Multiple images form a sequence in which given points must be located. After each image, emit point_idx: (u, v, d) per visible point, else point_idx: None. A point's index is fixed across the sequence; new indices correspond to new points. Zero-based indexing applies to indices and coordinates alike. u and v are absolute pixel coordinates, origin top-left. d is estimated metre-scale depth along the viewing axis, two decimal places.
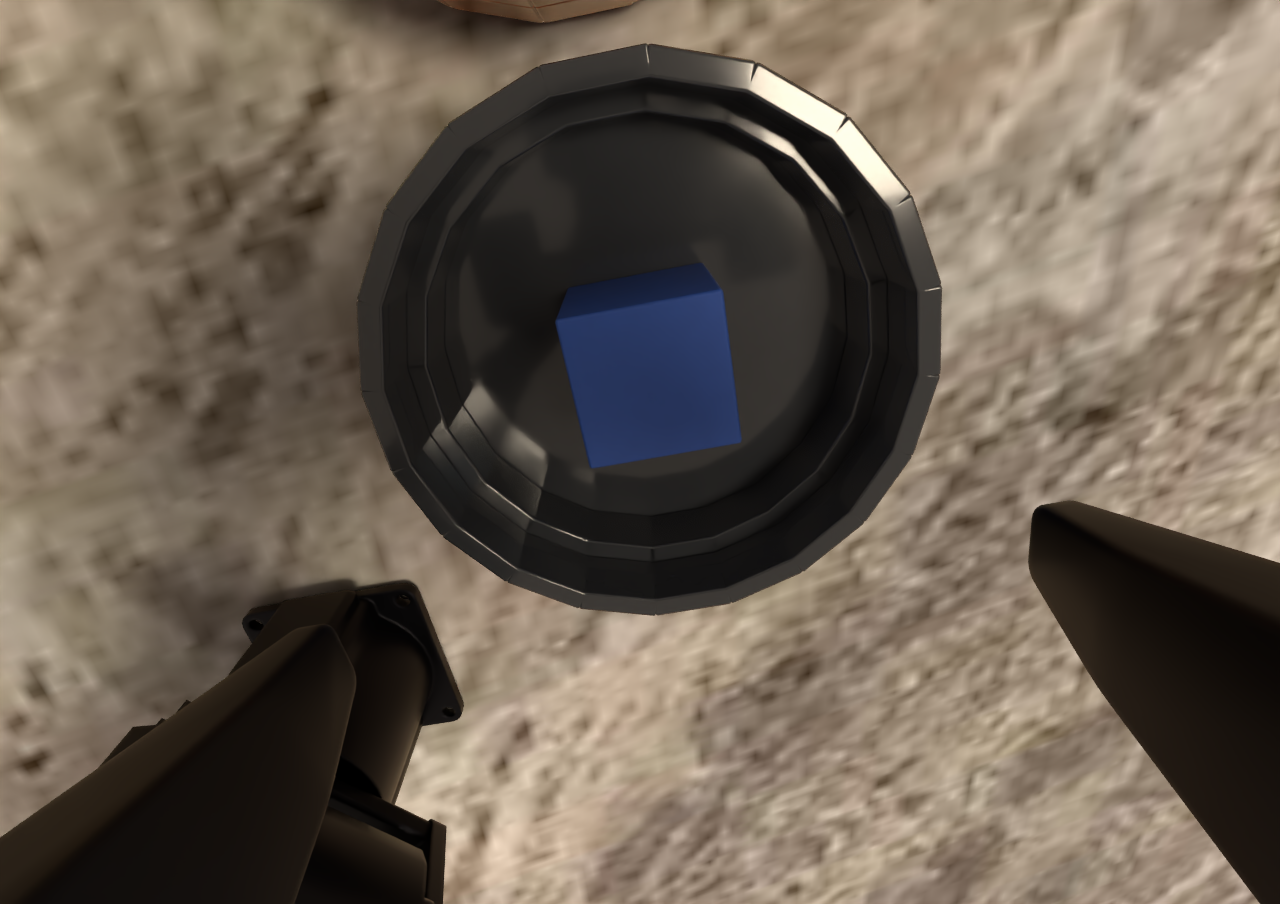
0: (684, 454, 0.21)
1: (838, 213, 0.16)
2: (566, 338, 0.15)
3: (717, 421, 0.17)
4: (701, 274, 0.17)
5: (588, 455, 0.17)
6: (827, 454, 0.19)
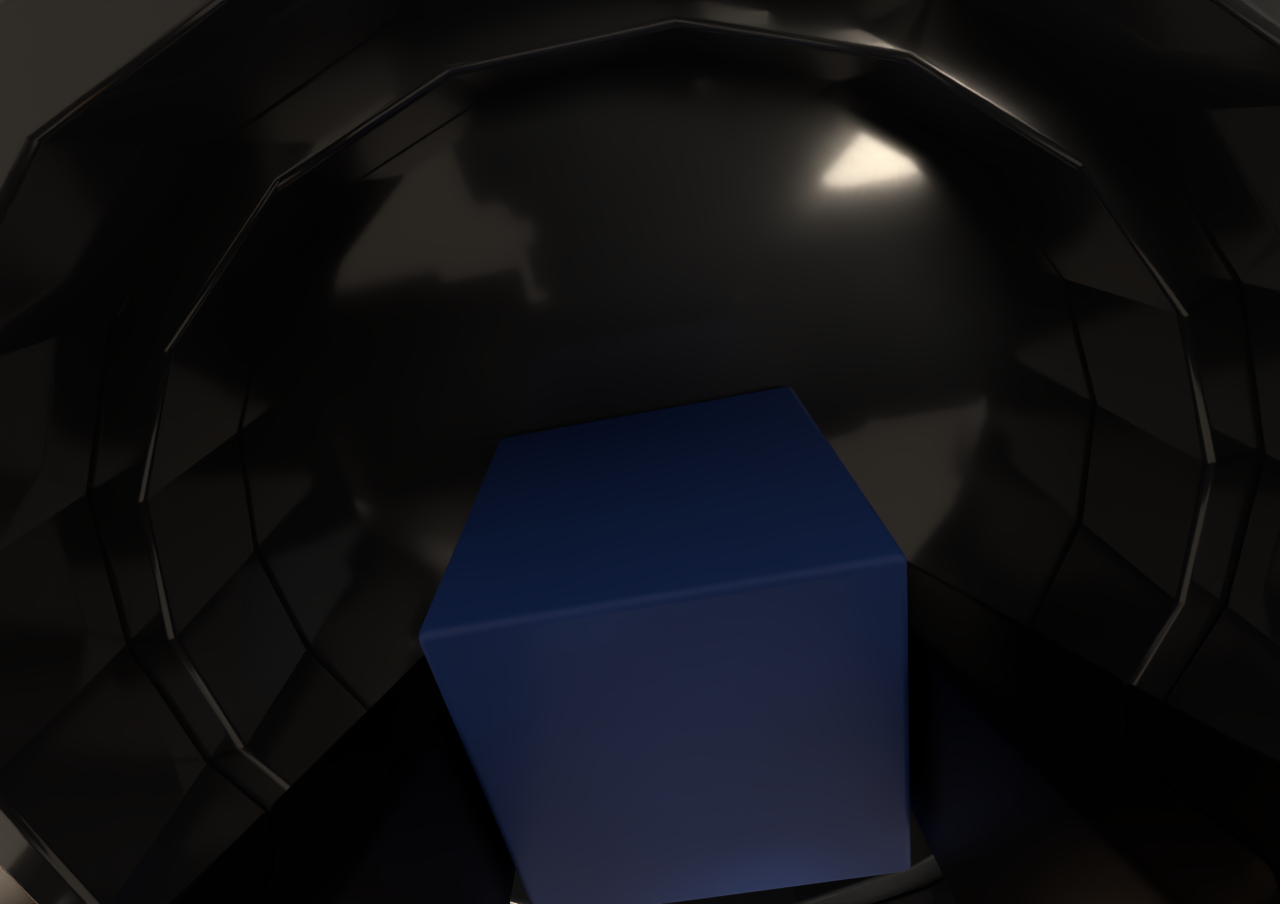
0: None
1: (1175, 302, 0.06)
2: (452, 677, 0.05)
3: (856, 836, 0.06)
4: (806, 444, 0.07)
5: (531, 899, 0.07)
6: None
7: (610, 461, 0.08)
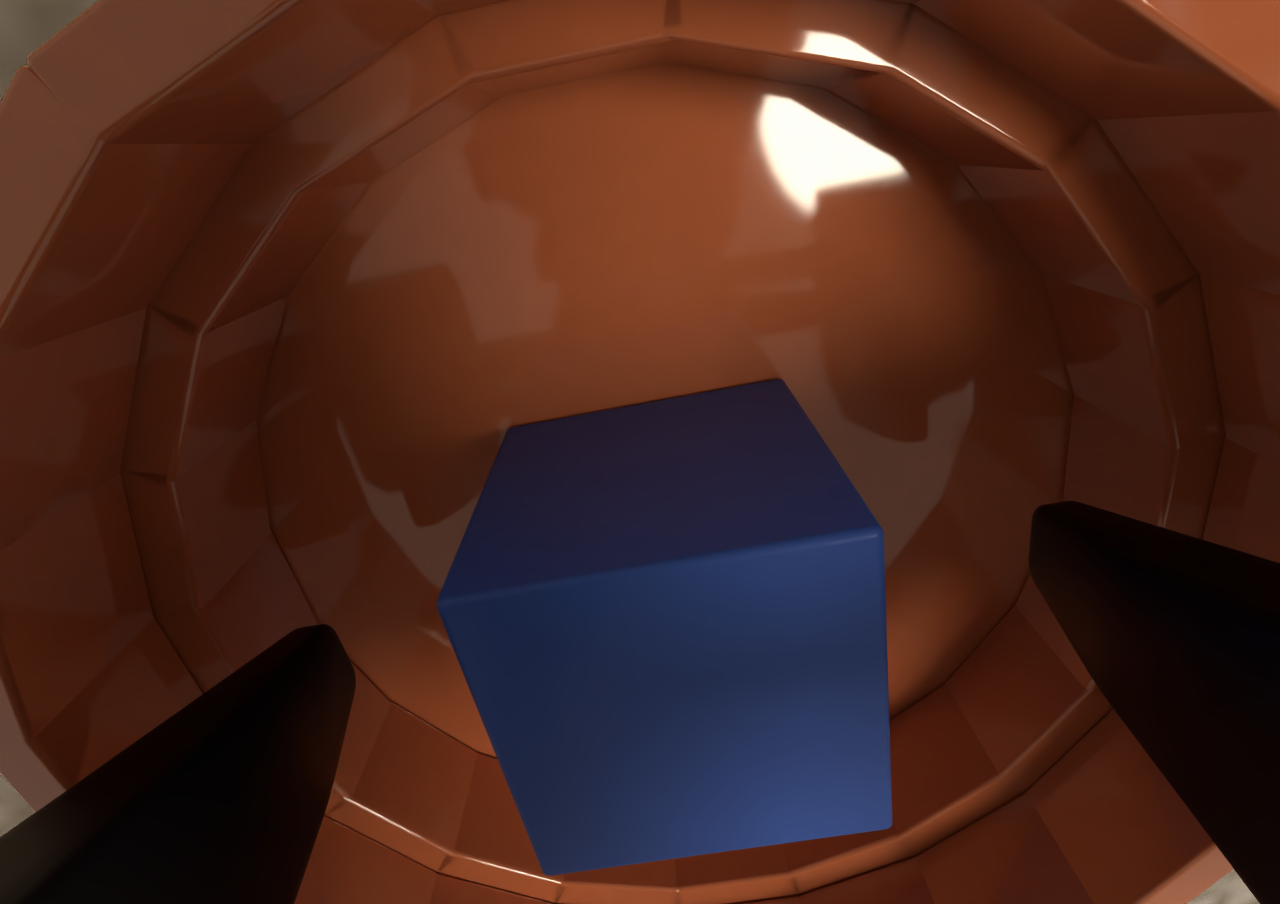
0: None
1: None
2: (467, 642, 0.06)
3: (841, 794, 0.07)
4: (795, 431, 0.08)
5: (537, 856, 0.07)
6: None
7: (611, 448, 0.08)
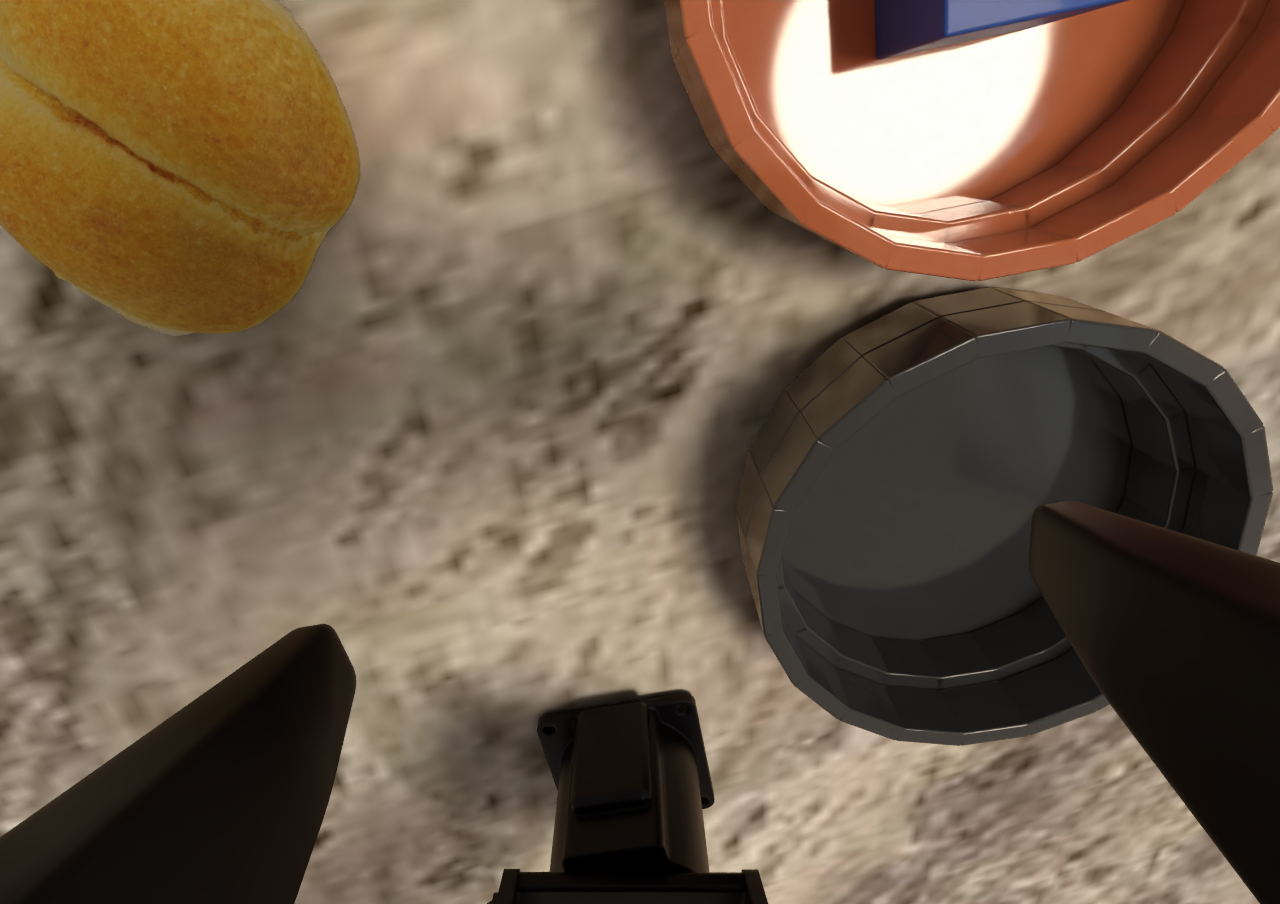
0: (960, 590, 0.24)
1: (1164, 417, 0.19)
2: None
3: None
4: None
5: (947, 12, 0.13)
6: None
7: None
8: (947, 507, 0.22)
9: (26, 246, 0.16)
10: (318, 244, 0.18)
